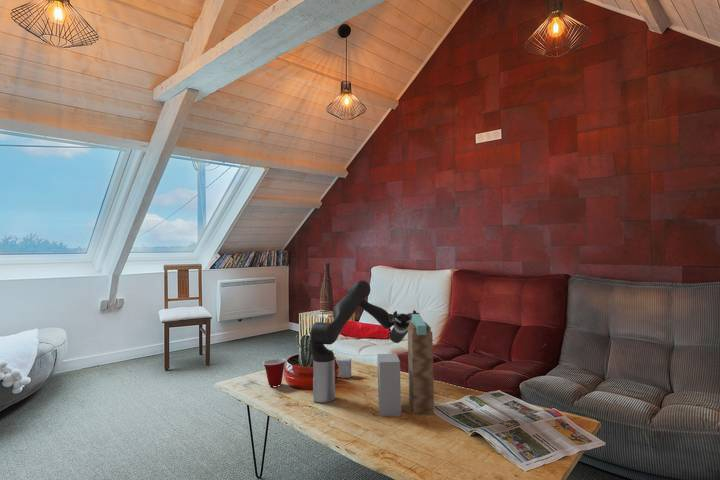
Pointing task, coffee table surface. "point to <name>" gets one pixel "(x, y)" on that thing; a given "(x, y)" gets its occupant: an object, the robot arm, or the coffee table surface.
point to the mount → (420, 371)
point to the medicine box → (344, 368)
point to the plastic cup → (274, 371)
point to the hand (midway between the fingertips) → (405, 312)
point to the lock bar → (419, 324)
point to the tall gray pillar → (389, 385)
